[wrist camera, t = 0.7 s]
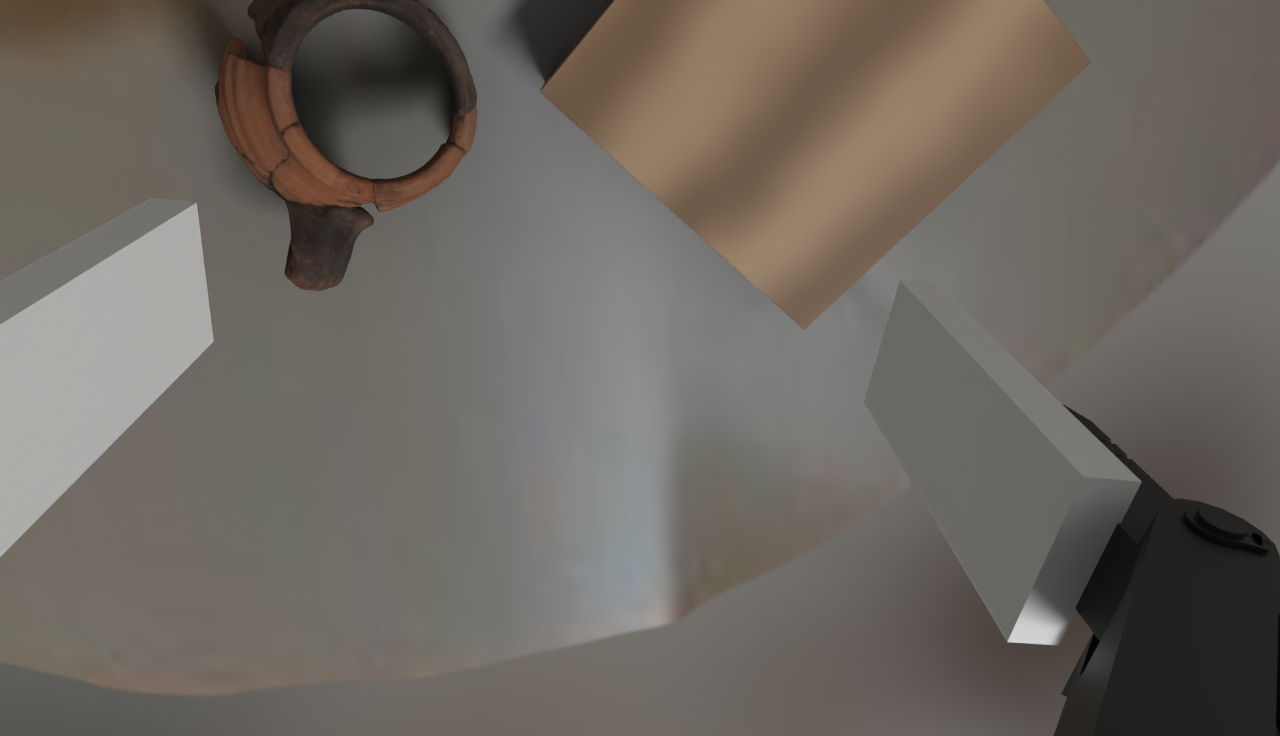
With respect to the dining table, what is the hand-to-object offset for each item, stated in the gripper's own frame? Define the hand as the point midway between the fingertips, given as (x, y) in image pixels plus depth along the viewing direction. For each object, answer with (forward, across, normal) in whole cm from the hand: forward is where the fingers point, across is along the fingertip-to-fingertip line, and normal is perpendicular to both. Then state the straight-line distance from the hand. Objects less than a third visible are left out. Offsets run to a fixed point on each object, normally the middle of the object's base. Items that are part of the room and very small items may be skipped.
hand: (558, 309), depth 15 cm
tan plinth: (+21, +9, +3) cm, 23 cm away
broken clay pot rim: (+21, -9, -2) cm, 23 cm away
